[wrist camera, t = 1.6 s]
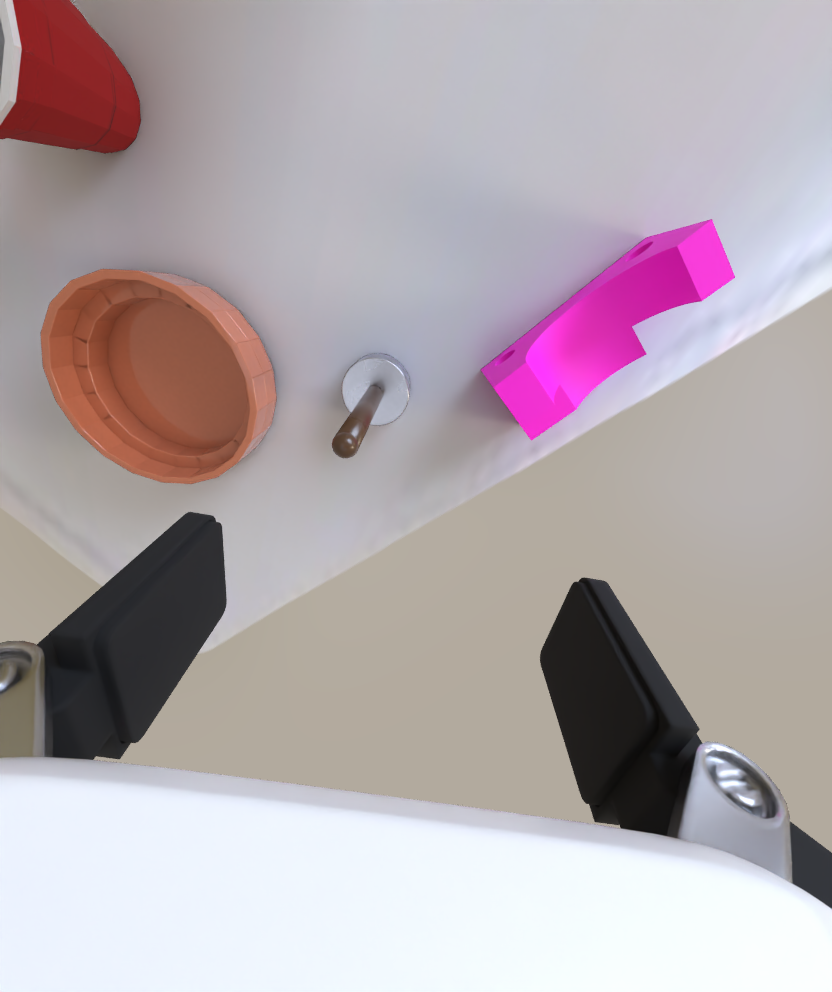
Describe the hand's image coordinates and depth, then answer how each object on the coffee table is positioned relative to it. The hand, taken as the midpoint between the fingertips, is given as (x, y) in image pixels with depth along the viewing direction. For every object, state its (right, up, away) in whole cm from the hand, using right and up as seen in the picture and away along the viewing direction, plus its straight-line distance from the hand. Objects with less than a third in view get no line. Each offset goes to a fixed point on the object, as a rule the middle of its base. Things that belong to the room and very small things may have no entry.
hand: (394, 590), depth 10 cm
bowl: (-20, +13, +24) cm, 34 cm away
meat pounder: (-3, +12, +24) cm, 27 cm away
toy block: (+14, +16, +22) cm, 30 cm away
